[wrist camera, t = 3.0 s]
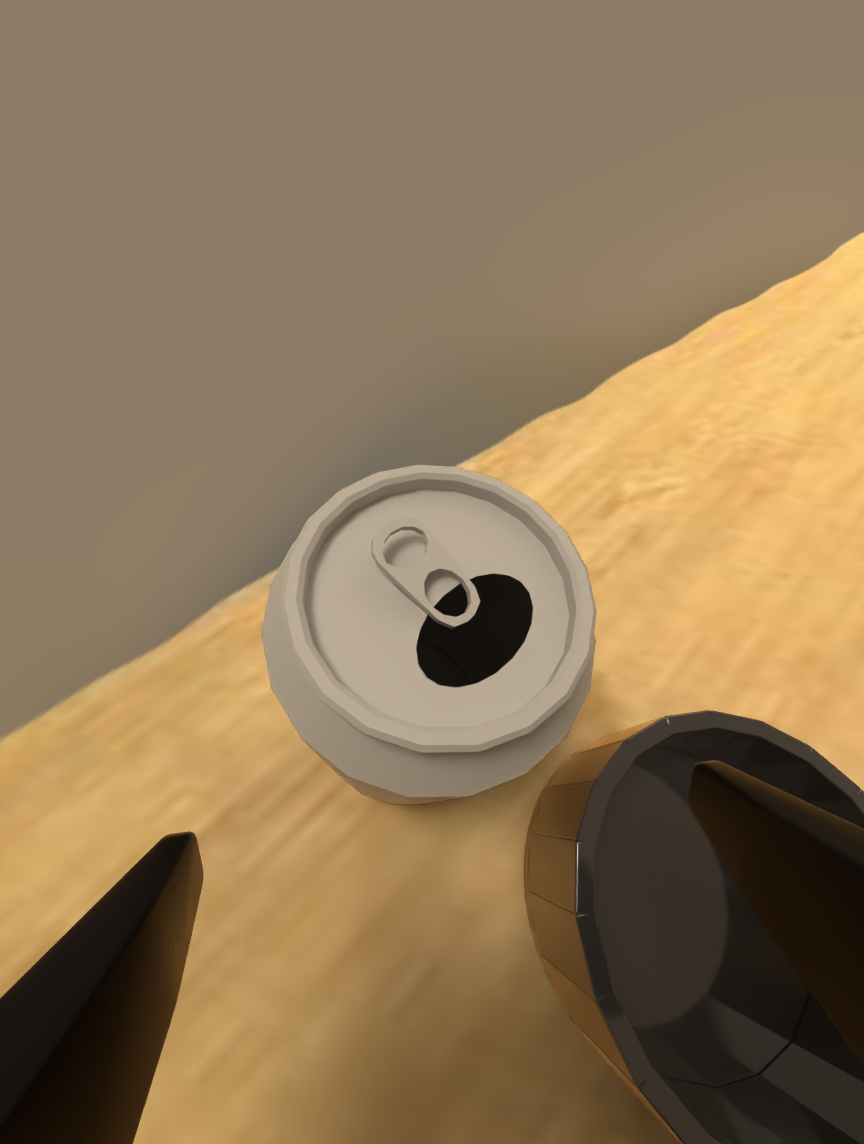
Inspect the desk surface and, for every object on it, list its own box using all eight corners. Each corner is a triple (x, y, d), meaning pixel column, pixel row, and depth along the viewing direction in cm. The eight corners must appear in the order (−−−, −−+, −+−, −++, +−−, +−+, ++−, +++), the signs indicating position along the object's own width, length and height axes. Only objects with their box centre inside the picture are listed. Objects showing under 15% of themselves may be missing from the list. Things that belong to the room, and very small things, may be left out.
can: (406, 852, 16) (459, 925, 6) (279, 707, 18) (153, 568, 8) (526, 707, 20) (700, 587, 9) (407, 595, 22) (437, 390, 11)
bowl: (800, 1189, 14) (1004, 1370, 9) (474, 974, 15) (514, 1041, 11) (821, 818, 19) (956, 820, 14) (577, 687, 20) (632, 653, 16)
